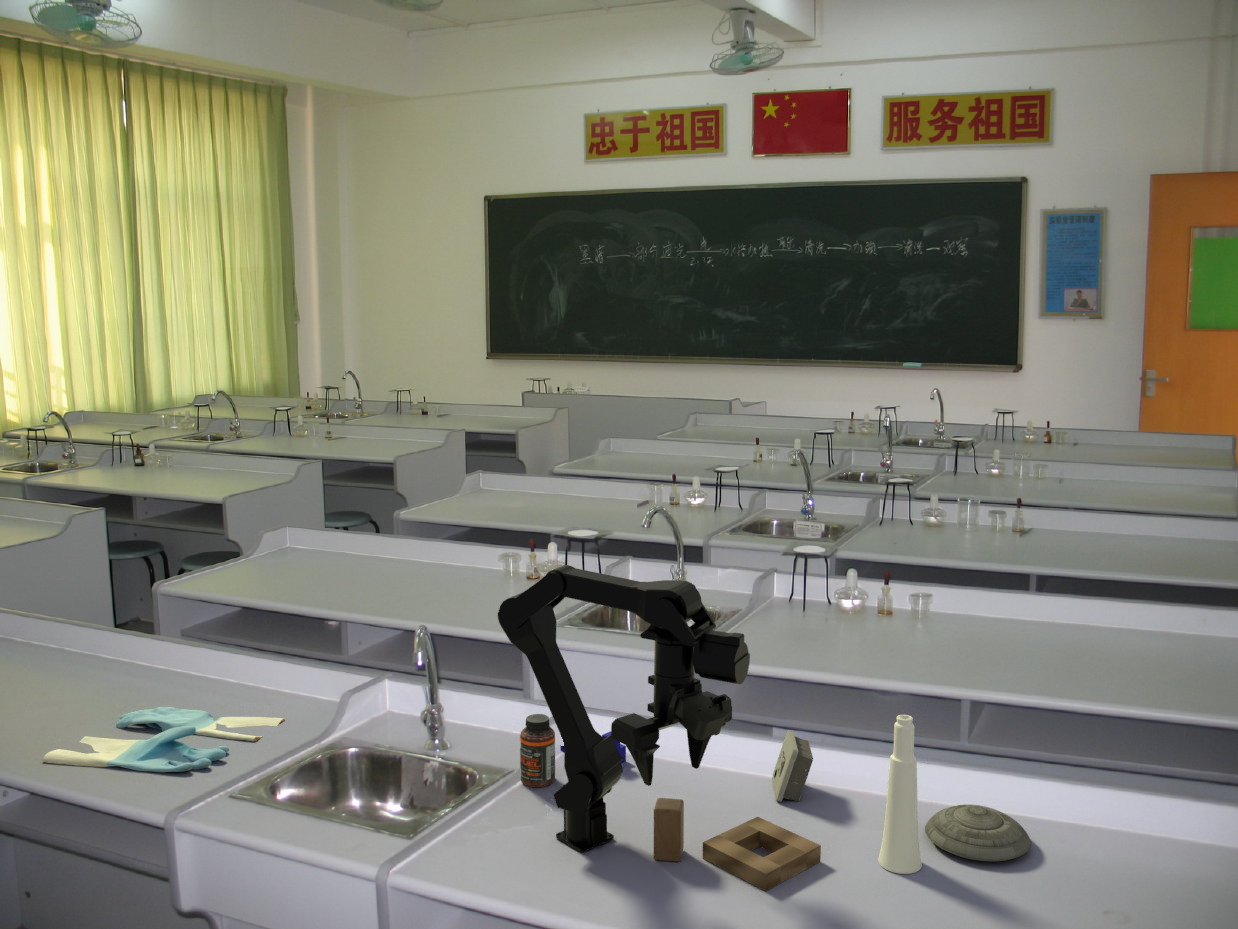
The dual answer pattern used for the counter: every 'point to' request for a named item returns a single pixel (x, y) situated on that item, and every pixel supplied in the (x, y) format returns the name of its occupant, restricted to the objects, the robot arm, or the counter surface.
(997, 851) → the flying saucer
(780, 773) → the electrical switch
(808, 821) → the counter surface
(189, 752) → the rubber gloves
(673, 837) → the wooden block
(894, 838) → the cosmetic bottle
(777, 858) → the socket collar
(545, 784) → the supplement bottle
